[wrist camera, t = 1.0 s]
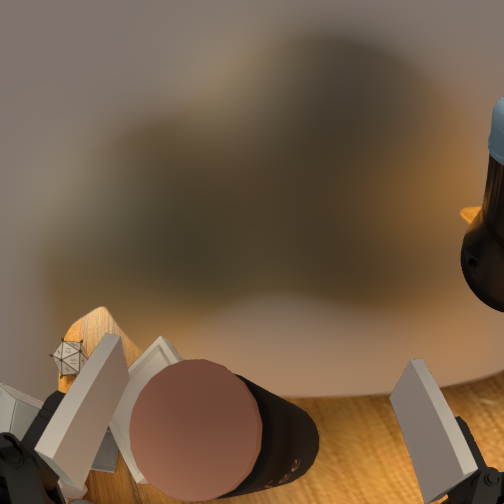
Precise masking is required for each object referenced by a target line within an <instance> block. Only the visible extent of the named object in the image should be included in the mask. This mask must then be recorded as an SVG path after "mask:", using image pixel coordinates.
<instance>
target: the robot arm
mask: <svg viewBox="0 0 504 504" xmlns="http://www.w3.org/2000/svg"><path fill="white" fill-rule="evenodd" d="M488 148H489V152H490V154H489V165H488V174H487V181H486V187H485V194H484V200H483V206H482V208H481V209H480V211H479V212H478V214H477V215H476V217H475V218H474V220H473V221H472V223H471V224H470V226H469V227H468V229H467V231H466V234H465V236H464V240H463V245H462V249H461V267H462V271H463V274H464V277H465V280H466V282H467V283H468V285H469V287H470V289H471V290H472V291H473V292H474V294H475V295H476V296H477V297H478V298H479V299H480V300H481V301H482V302H483V303H485V304H486V305H488V306H489V307H491V308H493V309H495V310H498V311H500V312H504V96H503V97H502V98H501V99H499V101H498V102H497V103H496V104H495V106H494V109H493V112H492V124H491V133H490V135H489V138H488ZM129 380H130V377H129V373H128V368H127V364H126V360H125V355H124V351H123V346H122V341H121V336H116V335H112V334H107V333H105V335H104V336H103V338H102V339H101V341H100V342H99V344H98V345H97V347H96V348H95V350H94V351H93V353H92V354H91V356H90V357H89V359H88V360H87V362H86V363H85V365H84V366H83V368H82V369H81V371H80V373H79V374H78V376H77V377H76V379H75V380H74V382H73V384H72V385H71V387H70V388H69V390H68V392H67V393H66V394H65V393H62V392H60V391H55V392H54V393H53V394H51V395H50V396H49V397H48V398H47V399H46V401H45V402H44V404H43V405H42V409H40V410H39V412H38V413H37V416H36V417H35V418H34V420H33V422H32V423H31V425H30V427H29V428H28V430H27V432H26V433H25V435H24V437H23V439H22V440H21V442H20V441H19V440H18V439H17V437H16V436H15V435H14V434H11V433H9V432H2V433H0V504H66V502H65V499H64V497H63V494H62V492H61V489H60V486H59V484H58V483H57V482H58V480H59V478H61V479H62V480H63V481H64V482H65V483H66V484H68V485H71V486H73V487H75V488H78V489H80V490H82V489H83V486H84V484H85V481H86V479H87V476H88V474H89V471H90V469H91V466H92V464H93V461H94V459H95V456H96V454H97V452H98V449H99V447H100V445H101V442H102V440H103V438H104V435H105V433H106V431H107V428H108V426H109V424H110V421H111V419H112V417H113V415H114V413H115V410H116V408H117V406H118V404H119V401H120V399H121V397H122V395H123V393H124V391H125V388H126V386H127V384H128V382H129ZM389 399H390V401H391V404H392V406H393V409H394V412H395V415H396V417H397V420H398V423H399V425H400V428H401V431H402V434H403V437H404V440H405V442H406V445H407V448H408V451H409V454H410V457H411V460H412V463H413V467H414V470H415V473H416V476H417V479H418V483H419V486H420V489H421V493H422V496H423V500H424V503H425V504H429V503H432V502H434V501H437V500H440V499H441V498H442V497H444V496H445V495H446V494H447V495H448V498H447V499H446V500H445V501H443V502H442V503H440V504H503V503H504V472H499V471H498V470H497V469H495V468H493V467H487V465H486V464H485V462H484V459H483V457H482V455H481V453H480V450H479V448H478V446H477V444H476V442H475V441H474V438H473V436H472V434H470V433H471V432H470V430H469V428H468V426H467V424H466V423H465V421H464V420H463V419H462V418H461V417H460V416H458V417H454V416H453V414H452V412H451V410H450V408H449V406H448V404H447V402H446V400H445V398H444V396H443V394H442V392H441V391H440V389H439V387H438V385H437V383H436V381H435V380H434V378H433V376H432V374H431V372H430V371H429V369H428V367H427V365H426V364H425V362H424V360H423V359H410V361H409V363H408V365H407V367H406V369H405V370H404V372H403V374H402V376H401V378H400V380H399V382H398V383H397V385H396V387H395V389H394V391H393V392H392V394H391V396H390V397H389Z"/></svg>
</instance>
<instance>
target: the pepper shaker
mask: <svg viewBox="0 0 504 504" xmlns="http://www.w3.org/2000/svg"><path fill="white" fill-rule="evenodd" d="M57 483H58V484H59V486H60V489H61V492H62V494H63V497H65V498H72V499H82V498H83V497H84V496H85V494H86V493H87V491H88V488H87V486H86V485H85V484H84V486H83V489H82V490H80V489H78V488H75V487H73V486H71V485H68V484H66V483H65V482H64V481H63V480H62V479H61V478H59V480H58V482H57Z"/></svg>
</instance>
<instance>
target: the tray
mask: <svg viewBox="0 0 504 504" xmlns="http://www.w3.org/2000/svg"><path fill="white" fill-rule="evenodd" d="M180 361H183V359H182V358H181V357H180V355H179V354H178V352H177V351H176V350H175V348H174V347H173V345H172V344H171V342H170V341H168V340H167V339H165V338H164V337H162V336H160V337H159V338H158V339H157V340H156V341H155V342H154V343H153V344H152V345H151V346H150V347H149V348H148V349H147V350H146V351H145V352H144V353H143V354H142V355H141V356H140V357H139V358H138V359H137V360H136V361H135V362H134V363H133V364H132V365H131V366H130V367H129V368H128V373H129V377H130V380H129V382H128V384H127V386H126V388H125V391H124V393H123V395H122V397H121V399H120V401H119V404H118V406H117V408H116V410H115V413H114V415H113V417H112V419H111V421H110V424H109V428H110V430H111V432H112V435H113V437H114V439H115V441H116V443H117V446H118V448H119V450H120V452H121V454H122V456H123V458H124V460H125V462H126V464H127V466H128V468H129V470H130V472H131V474H132V476H133V477H134V479H135V481H136V483H141V484H149V482H148V481H147V480H146V478H145V477H144V476H143V474H142V473H141V472H140V470H139V469H138V468H137V465H136V462H135V460H134V457H133V454H132V451H131V448H130V437H129V426H130V420H131V414H132V409H133V407H134V405H135V402H136V400H137V398H138V396H139V393H140V392H141V390H142V389H143V388H144V387H145V385H146V384H147V383H148V382H149V380H150V379H151V378H152V377H153V376H154V375H156V374H157V373H158V372H160V371H161V370H162V369H164V368H165V367H166V366H169V365H172V364H174V363H177V362H180Z"/></svg>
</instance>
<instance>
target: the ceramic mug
mask: <svg viewBox="0 0 504 504" xmlns="http://www.w3.org/2000/svg"><path fill="white" fill-rule="evenodd" d="M68 504H94V503H92V502H91V501H88V500H85V499H77V500H73V501H71V502H69V503H68Z"/></svg>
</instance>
